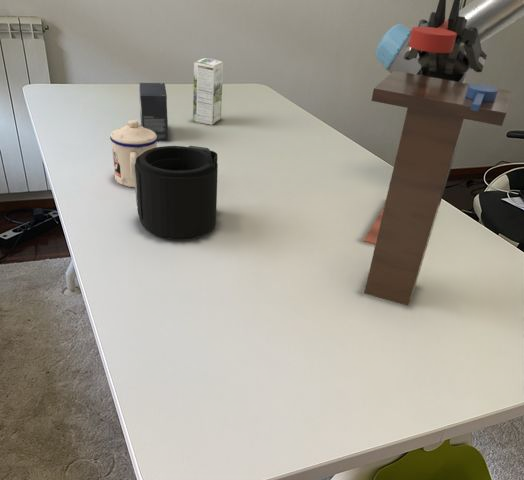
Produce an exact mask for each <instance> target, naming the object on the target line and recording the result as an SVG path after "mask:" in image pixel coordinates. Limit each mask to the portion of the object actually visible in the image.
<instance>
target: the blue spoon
mask: <svg viewBox="0 0 524 480" xmlns="http://www.w3.org/2000/svg"><path fill="white" fill-rule="evenodd" d="M469 84H470V85H469V86H468V89H467V92H466V97H468V98H469V99H472V100H474V101H473V103H472V106H471V110H473V111H479V108H480V106H481V103H482V102H493V101H495V99H496V95H497V92H498V90H497V89H498V88H496V87H494V86H492V85H488V84H481V83H469Z"/></svg>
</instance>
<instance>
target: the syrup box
mask: <svg viewBox="0 0 524 480" xmlns="http://www.w3.org/2000/svg"><path fill="white" fill-rule="evenodd" d="M223 77H224V62H223V61H221V60H218V59H215V58H210V57H209V58H208V57H207V58H206V57H203V58H200V59H199V60H196V61H194V62H193V97H192V98H193V101H192V104H193V107H192V121H193V122H195V123H200V124H207V125H210V126H213V125H214V124H216V123H218V122H219V121H221V119H222V100H223V99H222V98H223Z"/></svg>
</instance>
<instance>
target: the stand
mask: <svg viewBox="0 0 524 480" xmlns="http://www.w3.org/2000/svg"><path fill="white" fill-rule="evenodd" d="M470 84H471V83H467V82H464V83H461V82H456V81H450V80H444V79H439V78H433V77H427V76H422V75H416V74H410V73H405V72H399V71H393V72H392V73H390V74H388V75H387V76H386V77H385V78H384V79H383V80H382V81H381V82H380V83H378V84H377V85H375V86H374V88H373V91H372V96H371V102H375V103H380V104H386V105H391V106H395V107H399V108H400V107H401V108H406V113H405V118H404V122H403V127H402V130H401V135H400V139H399V143H398V148H397V151H396V156H395V161H394V165H393V168H392V173H391V177H390V181H389V185H388V188H387V189H388V190H387V193H386V198H385V203H384V206H383V207H382V210H381V211H380V212H379V215H378V216H377V218H376V220H374V223H373V224H372V225H371V227H370V229H369V231H368V232H367V234H366V236H365V237H364V239H363V242H364V243H369V244H372V245H375V246H374V249H373V254H372V258H371V262H370V266H369V270H368V275H367V280H366V283H365V288H364V294H366V295H370V296H373V297H375V298H376V297H377V298H380V299H384V300H388V301H391V302H394V303H397V304H401V305H404V306H409V304H410V302H411V300H412V296H413V293H414V291H415V288H416V285H417V283H418V282H417V281H418V278H419V275H420V273H421V268H422V265H423V262H424V258H425V256H426V252H427V250H428V245H429V242H430V239H431V236H432V232H433V229H434V226H435V222H436V219H437V216H438V213H439V209H440V205H441V202H442V199H443V196H444V192H445V189H446V186H447V182H448V180H449V176H450V172H451V170H452V166H453V162H454V159H455V156H456V153H457V151H458V150H457V149H458V147H459V143H460V139H461V136H462V133H463V129H464V126H465V123H466V120H469V121H474V122H479V123H484V124H488V125H494V126H499V127H502V126H503V124H504V121H505V120H506V116H507V112H508V109H509V104H510V101H511V100H510V99H511V96H512V93H513V92H512V90H505V89H500V88H496V89H497V90H498V92H497V95H496V99H495V101H493V102H482V103H481V106H480V108H479V111H473V110H471V106H472V103H473V101H474V100H472V99H469V98H468V97H466V92H467V89H468V86H469V85H470Z"/></svg>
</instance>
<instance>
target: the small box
mask: <svg viewBox="0 0 524 480" xmlns="http://www.w3.org/2000/svg"><path fill="white" fill-rule="evenodd" d="M138 90H139V94H138V95H139V97H138V99H139V101H138V102H139V113H140V114H139V115H140V117H139V118H140V126H142V127H144V128H146V129H149V130H152V131H153V132H155V134H156V135H157V138H158V140H157V142H158V141H159V142H160V141H162V142H164V141H165V142H169V141H170V140H169V139H170V138H169V125H168V124H169V119H168V118H169V117H168V102H167V101H168V95H167V89H166V83H165V82H139V89H138Z"/></svg>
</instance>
